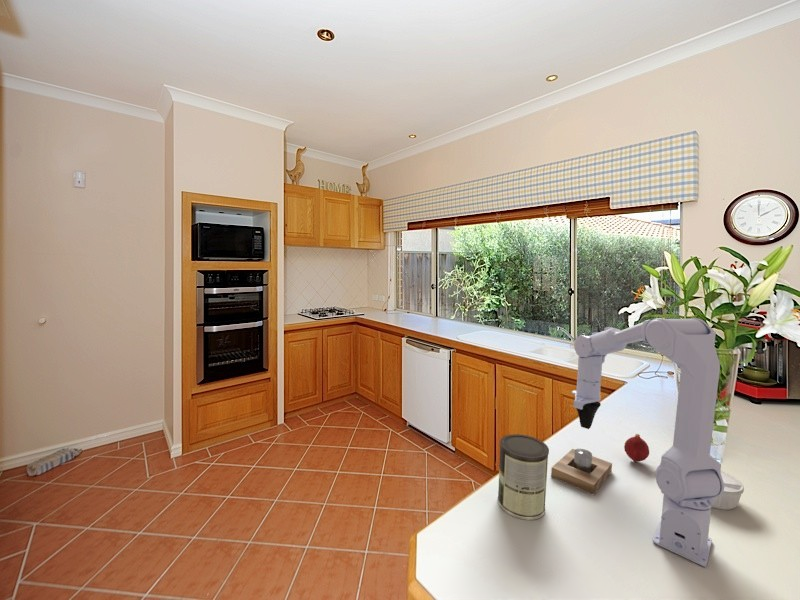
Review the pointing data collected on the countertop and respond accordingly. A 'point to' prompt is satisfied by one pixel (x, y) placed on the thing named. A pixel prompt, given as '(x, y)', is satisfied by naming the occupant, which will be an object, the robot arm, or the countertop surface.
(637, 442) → the onion
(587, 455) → the brushed metal cylinder
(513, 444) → the coffee can
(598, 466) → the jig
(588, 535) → the countertop surface
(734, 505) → the ramekin
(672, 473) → the robot arm
